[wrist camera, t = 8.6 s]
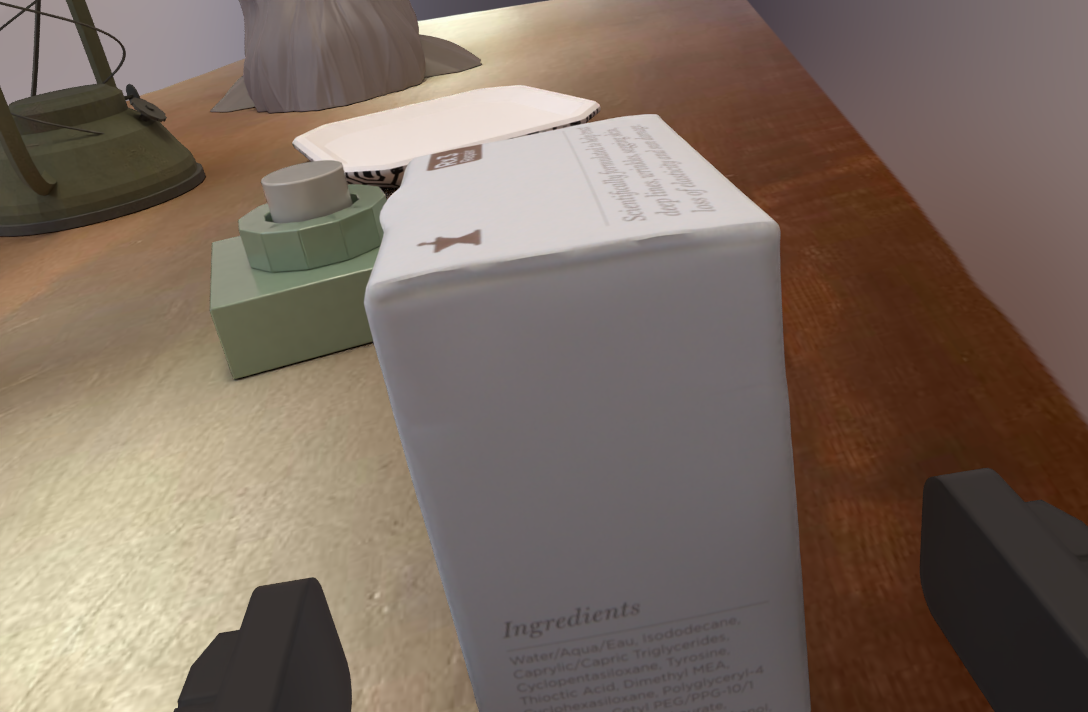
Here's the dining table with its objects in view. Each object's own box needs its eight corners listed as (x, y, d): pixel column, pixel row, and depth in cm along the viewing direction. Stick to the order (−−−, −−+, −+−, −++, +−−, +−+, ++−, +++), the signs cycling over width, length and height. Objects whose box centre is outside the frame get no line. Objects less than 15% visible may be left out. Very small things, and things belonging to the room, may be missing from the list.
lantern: (163, 218, 63) (-19, -291, 50) (-82, 261, 63) (-329, -239, 50) (231, 153, 82) (112, -231, 68) (42, 186, 81) (-114, -193, 68)
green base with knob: (492, 235, 48) (475, 144, 46) (552, 293, 40) (535, 184, 37) (231, 301, 45) (199, 207, 43) (233, 380, 36) (193, 266, 34)
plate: (513, 105, 81) (509, 80, 80) (625, 136, 64) (622, 105, 63) (290, 159, 75) (283, 133, 74) (348, 210, 57) (339, 177, 56)
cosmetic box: (841, 981, 13) (833, 210, 8) (547, 1032, 13) (346, 295, 8) (731, 674, 19) (684, 97, 14) (524, 710, 19) (395, 147, 14)
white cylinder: (348, 197, 42) (337, 155, 41) (359, 216, 39) (347, 170, 38) (271, 215, 41) (258, 172, 40) (275, 236, 38) (262, 189, 37)
